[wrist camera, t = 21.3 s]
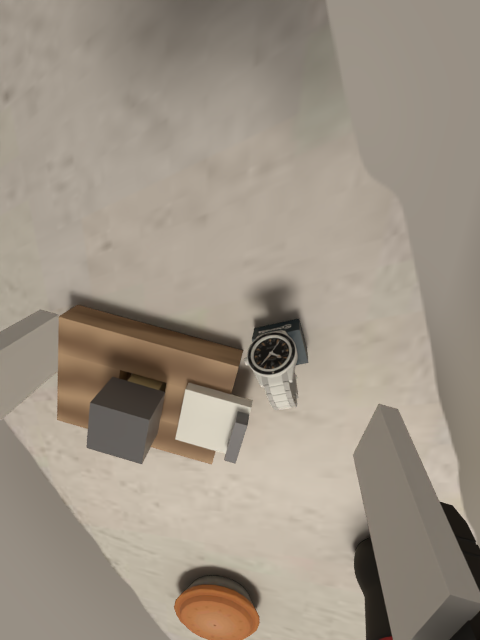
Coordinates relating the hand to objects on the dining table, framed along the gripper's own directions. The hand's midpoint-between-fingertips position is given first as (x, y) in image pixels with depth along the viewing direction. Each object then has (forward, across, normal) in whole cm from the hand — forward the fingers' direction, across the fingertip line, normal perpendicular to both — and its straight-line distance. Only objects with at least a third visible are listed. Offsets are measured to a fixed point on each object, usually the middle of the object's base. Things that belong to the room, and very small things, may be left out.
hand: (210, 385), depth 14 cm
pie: (+27, +9, -65) cm, 71 cm away
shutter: (+23, 0, -21) cm, 31 cm away
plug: (+27, -10, -21) cm, 35 cm away
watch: (+27, +5, -10) cm, 29 cm away
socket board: (+27, -10, -21) cm, 35 cm away
